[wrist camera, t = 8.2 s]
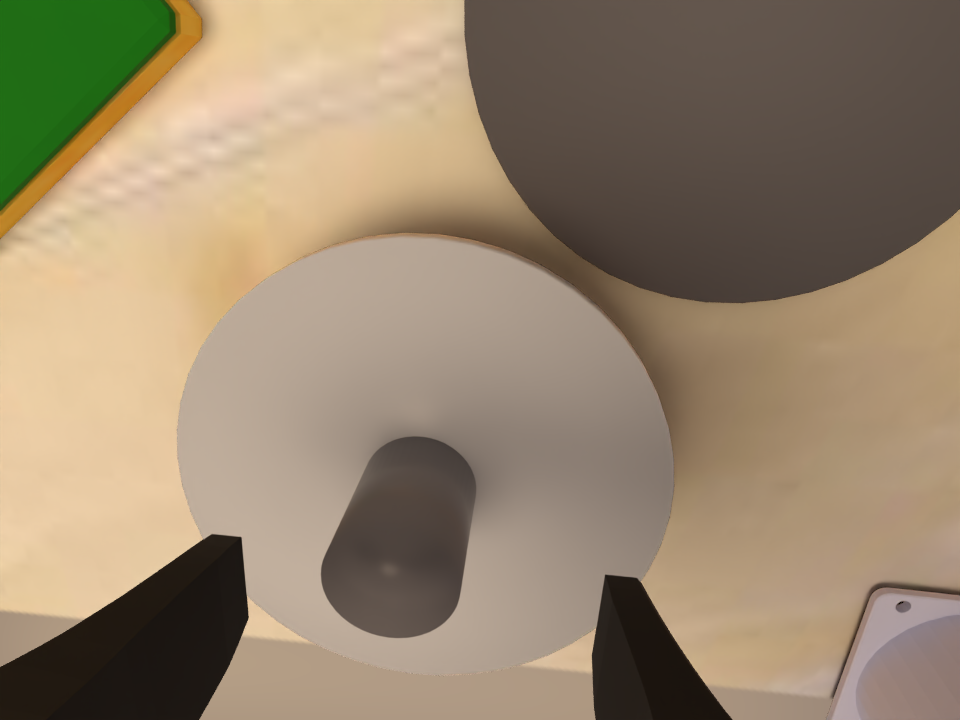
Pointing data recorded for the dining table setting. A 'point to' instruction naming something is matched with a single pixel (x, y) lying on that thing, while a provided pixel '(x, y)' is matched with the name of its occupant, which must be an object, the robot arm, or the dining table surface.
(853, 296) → the dining table surface
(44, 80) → the dish sponge
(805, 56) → the mat
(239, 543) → the robot arm
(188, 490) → the lid
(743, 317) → the dining table surface
